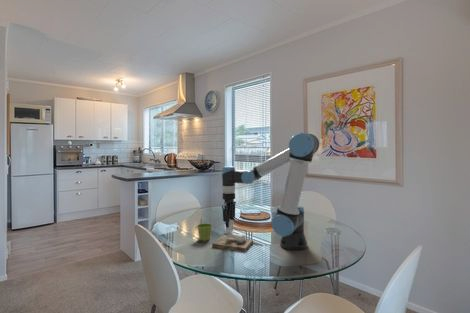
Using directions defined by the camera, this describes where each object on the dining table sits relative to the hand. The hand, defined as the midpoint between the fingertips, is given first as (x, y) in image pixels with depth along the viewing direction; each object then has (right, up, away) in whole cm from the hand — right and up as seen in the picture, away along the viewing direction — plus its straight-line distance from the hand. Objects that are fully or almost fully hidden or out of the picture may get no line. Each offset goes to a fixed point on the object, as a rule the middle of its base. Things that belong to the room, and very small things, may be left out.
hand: (229, 231), depth 161 cm
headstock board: (+2, -7, -5) cm, 8 cm away
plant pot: (-15, -7, +5) cm, 18 cm away
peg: (+3, -4, -2) cm, 5 cm away
